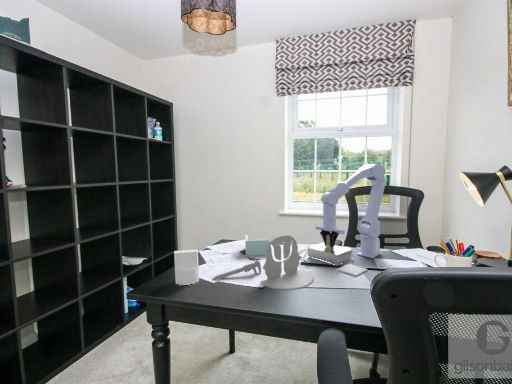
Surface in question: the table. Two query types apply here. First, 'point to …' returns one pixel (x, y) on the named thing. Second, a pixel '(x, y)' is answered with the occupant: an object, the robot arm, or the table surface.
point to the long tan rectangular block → (328, 243)
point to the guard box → (330, 253)
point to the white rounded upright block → (186, 267)
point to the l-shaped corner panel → (256, 246)
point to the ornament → (285, 266)
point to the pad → (352, 270)
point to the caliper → (241, 270)
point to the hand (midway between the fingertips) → (329, 246)
